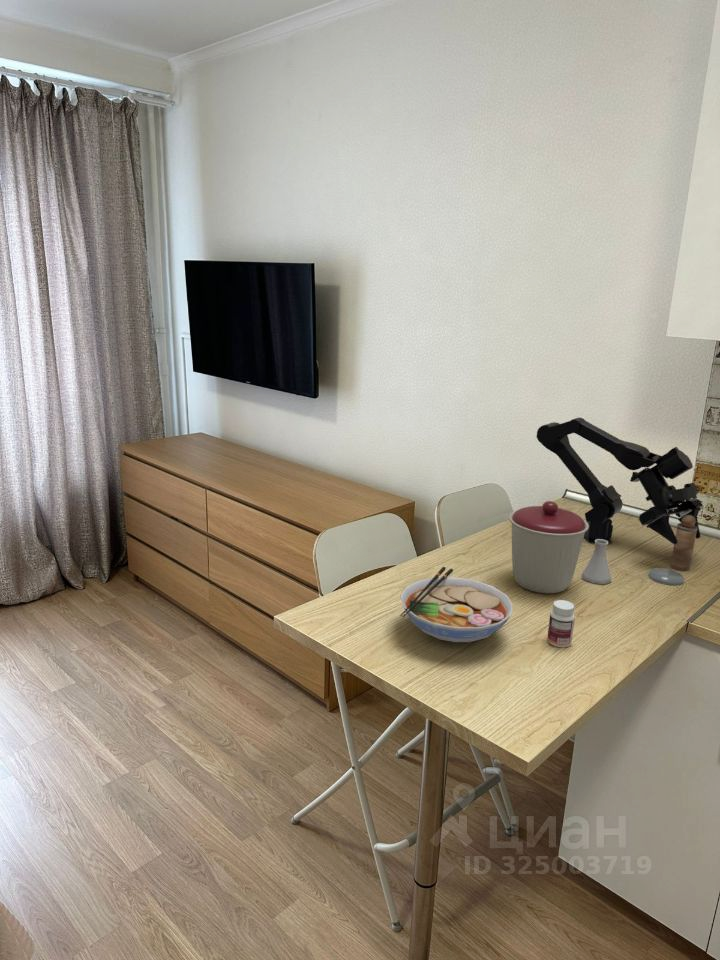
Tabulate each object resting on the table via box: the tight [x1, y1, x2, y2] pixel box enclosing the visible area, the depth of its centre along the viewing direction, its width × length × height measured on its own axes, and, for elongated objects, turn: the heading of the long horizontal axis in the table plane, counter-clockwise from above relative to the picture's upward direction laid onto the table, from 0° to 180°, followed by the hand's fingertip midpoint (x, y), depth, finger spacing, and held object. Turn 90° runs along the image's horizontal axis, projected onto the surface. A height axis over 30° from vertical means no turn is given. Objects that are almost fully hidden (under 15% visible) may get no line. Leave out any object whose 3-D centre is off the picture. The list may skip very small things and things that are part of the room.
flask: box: [581, 539, 612, 585], centre depth 164 cm, size 7×7×10 cm
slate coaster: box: [648, 567, 685, 586], centre depth 166 cm, size 8×8×1 cm
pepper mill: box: [669, 515, 698, 572], centre depth 171 cm, size 5×5×14 cm
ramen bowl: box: [400, 566, 514, 643], centre depth 136 cm, size 25×23×8 cm
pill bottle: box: [546, 599, 576, 648], centre depth 134 cm, size 5×5×8 cm
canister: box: [508, 500, 589, 594], centre depth 158 cm, size 18×18×21 cm
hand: (687, 540), depth 171 cm, fingers open, 9 cm apart
